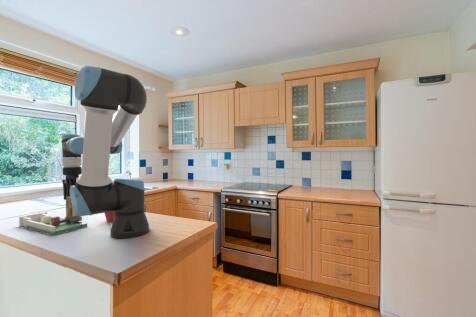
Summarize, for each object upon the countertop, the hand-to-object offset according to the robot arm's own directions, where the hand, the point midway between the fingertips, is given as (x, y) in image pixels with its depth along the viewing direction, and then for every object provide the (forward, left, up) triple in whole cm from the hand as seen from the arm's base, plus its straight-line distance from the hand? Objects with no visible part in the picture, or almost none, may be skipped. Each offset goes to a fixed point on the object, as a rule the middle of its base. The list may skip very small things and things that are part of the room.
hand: (73, 215), depth 114 cm
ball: (+8, +8, -1) cm, 11 cm away
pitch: (+6, +7, -5) cm, 10 cm away
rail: (+3, 0, -5) cm, 5 cm away
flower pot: (-11, -14, -5) cm, 18 cm away
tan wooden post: (0, +3, -3) cm, 4 cm away
